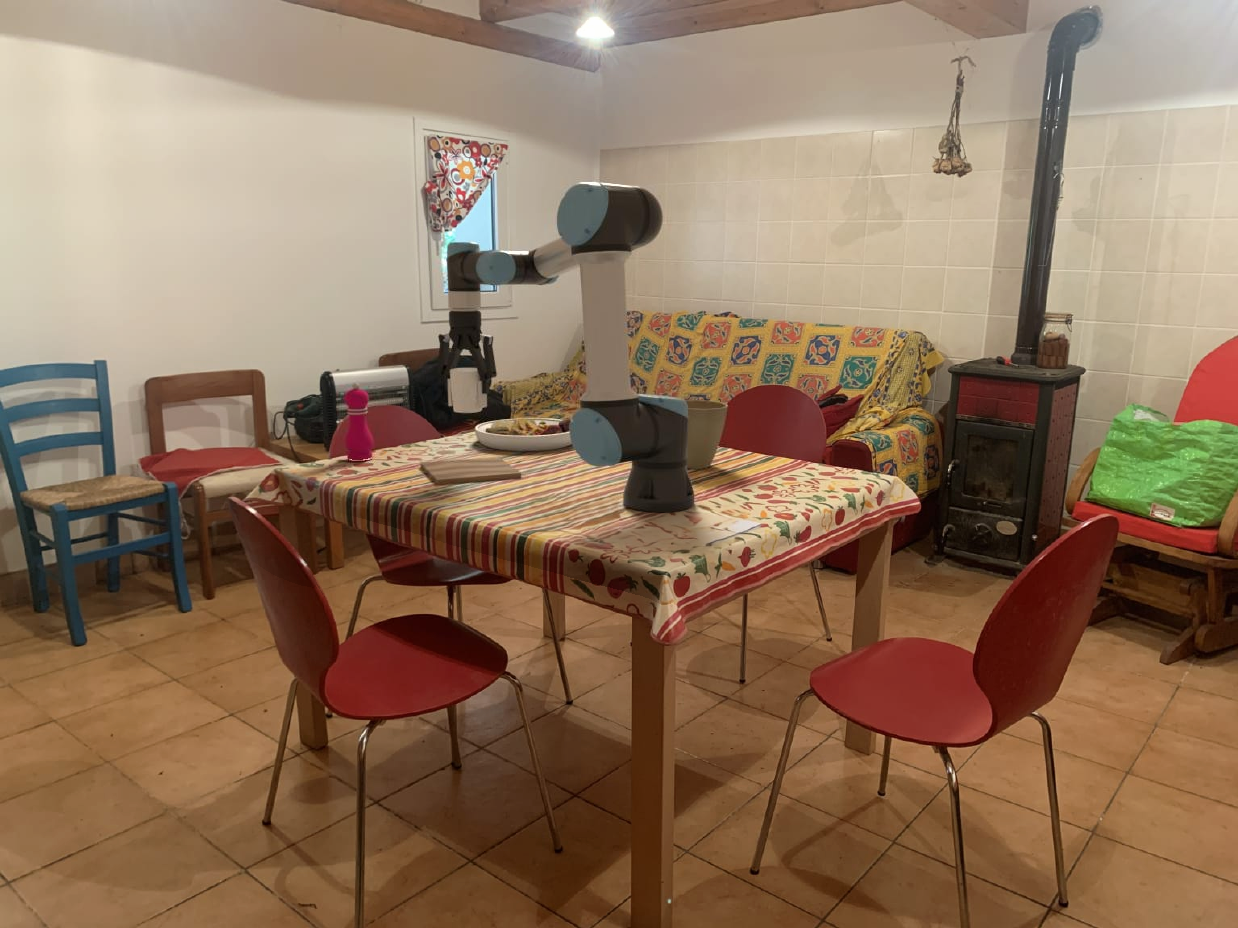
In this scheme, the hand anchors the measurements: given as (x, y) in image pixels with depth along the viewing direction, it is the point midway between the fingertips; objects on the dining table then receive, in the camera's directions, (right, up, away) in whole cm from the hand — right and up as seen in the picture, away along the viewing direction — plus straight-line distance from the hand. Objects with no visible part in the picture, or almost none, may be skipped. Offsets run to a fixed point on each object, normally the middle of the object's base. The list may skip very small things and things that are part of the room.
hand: (467, 406), depth 214 cm
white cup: (0, -1, 0) cm, 1 cm away
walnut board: (0, -16, +3) cm, 16 cm away
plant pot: (+56, -15, +12) cm, 59 cm away
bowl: (+10, -8, +42) cm, 44 cm away
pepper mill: (-31, -13, +17) cm, 38 cm away
